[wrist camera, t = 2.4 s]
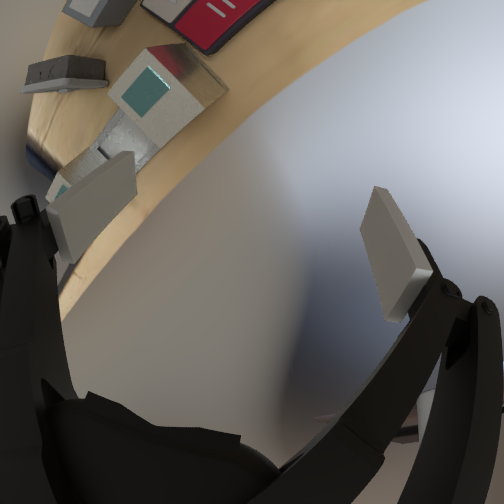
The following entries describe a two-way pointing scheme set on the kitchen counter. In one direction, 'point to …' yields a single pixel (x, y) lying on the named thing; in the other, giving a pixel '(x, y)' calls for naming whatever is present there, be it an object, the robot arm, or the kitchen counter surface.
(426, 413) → the cylinder vase
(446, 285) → the robot arm
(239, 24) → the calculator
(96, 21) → the block
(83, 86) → the electrical switch
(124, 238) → the kitchen counter surface
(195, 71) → the grey u-shaped block
